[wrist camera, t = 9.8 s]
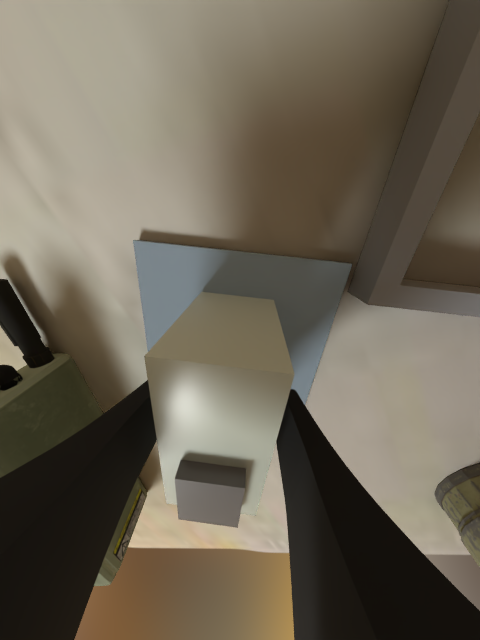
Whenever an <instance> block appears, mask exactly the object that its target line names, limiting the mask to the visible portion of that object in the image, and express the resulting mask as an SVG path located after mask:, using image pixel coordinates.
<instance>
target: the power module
mask: <svg viewBox="0 0 480 640" xmlns="http://www.w3.org/2000/svg"><path fill="white" fill-rule="evenodd" d="M144 357H145V364H146V370H147V377H148V384H149V391H150V397H151V404H152V411H153V417H154V424H155V431H156V438H157V444H158V451H159V458H160V465H161V471H162V478H163V485H164V491H165V498H166V503H167V504H174V505H177V508H178V518H179V519H180V520H187V521H194V522H202V523H209V524H216V525H223V526H230V527H237V528H238V523H239V518H240V514H246V515H253V516H256V513H257V509H258V506H259V502H260V498H261V495H262V491H263V487H264V484H265V480H266V477H267V473H268V469H269V466H270V462H271V458H272V455H273V451H274V448H275V444H276V440H277V437H278V433H279V429H280V426H281V422H282V418H283V415H284V411H285V408H286V404H287V400H288V397H289V393H290V389H291V386H292V382H293V378H294V375H295V374H294V370H293V367H292V363H291V360H290V356H289V352H288V349H287V345H286V342H285V338H284V334H283V331H282V327H281V324H280V320H279V317H278V313H277V309H276V306H275V302H274V300H271V299H262V298H253V297H244V296H235V295H226V294H217V293H208V292H201V293H200V294H199V295H198V296H197V297H196V299H195V300H194V301H193V302H192V303H191V304H190V305H189V307H188V308H187V309H186V310H185V311H184V312H183V313H182V314H181V316H180V317H179V318H178V319H177V320H176V321H175V322H174V323H173V325H172V326H171V327H170V328H169V329H168V330H167V331H166V332H165V334H164V335H163V336H162V337H161V338H160V339H159V340H158V341H157V343H156V344H155V345H154V346H153V347H152V348H151V349H150V351H149V352H148V353H147V354H146V355H145V356H144Z"/></svg>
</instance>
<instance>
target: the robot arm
mask: <svg viewBox="0 0 480 640" xmlns="http://www.w3.org/2000/svg"><path fill="white" fill-rule="evenodd" d="M156 440H157V438H156V431H155V424H154V417H153V411H152V404H151V397H150V391H149V384H148V380H147V381H146V382H145V383H143V384H142V385H141V386H140V387H138V388H137V389H136V390H135V391H133V392H132V393H131V394H129V395H128V396H127V397H126V398H124V399H123V400H122V401H120V402H119V403H118V404H116V405H115V406H114V407H112V408H111V409H110V410H108V411H107V412H106V413H104V414H103V415H101V416H100V417H99V418H97V419H96V420H94V421H93V422H91V423H90V424H89V425H87V426H86V427H84V428H83V429H81V430H80V431H78V432H77V433H75V434H74V435H72V436H71V437H69V438H67V439H66V440H64V441H63V442H61V443H59V444H58V445H56V446H55V447H53V448H51V449H50V450H48V451H46V452H45V453H43V454H41V455H39V456H38V457H36V458H34V459H32V460H31V461H29V462H27V463H25V464H24V465H22V466H20V467H19V468H17V469H15V470H13V471H12V472H10V473H8V474H6V475H4V476H3V477H1V478H0V640H74V638H75V636H76V633H77V630H78V628H79V625H80V622H81V619H82V616H83V614H84V611H85V608H86V605H87V603H88V600H89V597H90V594H91V592H92V589H93V587H94V584H95V581H96V579H97V576H98V573H99V571H100V568H101V566H102V563H103V560H104V558H105V555H106V553H107V550H108V547H109V545H110V542H111V540H112V537H113V535H114V532H115V530H116V527H117V525H118V522H119V520H120V517H121V515H122V513H123V510H124V508H125V505H126V503H127V500H128V498H129V496H130V493H131V491H132V489H133V487H134V484H135V482H136V480H137V478H138V476H139V474H140V472H141V470H142V468H143V466H144V464H145V462H146V460H147V458H148V456H149V454H150V452H151V450H152V448H153V446H154V444H155V442H156ZM276 443H277V450H278V456H279V463H280V470H281V476H282V483H283V490H284V496H285V504H286V513H287V526H288V539H289V553H290V568H291V582H292V583H291V584H292V600H293V619H294V638H295V640H480V611H479V610H478V609H477V608H476V607H475V606H474V605H473V604H472V603H471V602H470V601H469V600H468V599H467V598H466V597H465V596H464V595H463V594H462V593H461V592H460V591H459V590H458V589H457V588H456V587H455V586H454V585H453V584H452V583H451V582H450V581H449V580H448V579H447V578H446V577H445V576H444V575H443V574H442V573H441V572H440V571H439V570H438V569H437V568H436V567H435V566H434V565H433V564H432V563H431V562H430V561H429V560H428V559H427V558H426V556H425V555H424V554H423V553H422V552H421V551H420V550H419V549H418V548H417V547H416V546H415V545H414V544H413V543H412V541H411V540H410V539H409V538H408V537H407V536H406V535H405V534H404V533H403V532H402V531H401V529H400V528H399V527H398V526H397V525H396V524H395V523H394V522H393V521H392V520H391V518H390V517H389V516H388V515H387V514H386V513H385V512H384V511H383V510H382V509H381V507H380V506H379V505H378V504H377V503H376V502H375V500H374V499H373V498H372V497H371V496H370V495H369V493H368V492H367V491H366V490H365V489H364V487H363V486H362V485H361V484H360V482H359V481H358V480H357V479H356V478H355V476H354V475H353V474H352V472H351V471H350V470H349V469H348V467H347V466H346V465H345V463H344V462H343V461H342V459H341V458H340V457H339V455H338V454H337V453H336V451H335V450H334V449H333V447H332V446H331V444H330V443H329V442H328V440H327V439H326V437H325V436H324V434H323V433H322V431H321V430H320V428H319V427H318V425H317V424H316V422H315V421H314V419H313V418H312V416H311V414H310V413H309V411H308V410H307V408H306V406H305V405H304V403H303V401H302V400H301V398H300V396H299V395H298V393H297V391H296V390H294V389H290V393H289V397H288V400H287V404H286V408H285V411H284V415H283V418H282V422H281V426H280V429H279V433H278V437H277V440H276Z"/></svg>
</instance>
